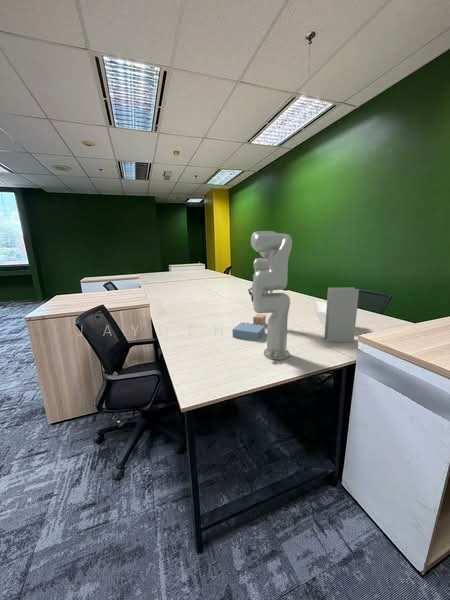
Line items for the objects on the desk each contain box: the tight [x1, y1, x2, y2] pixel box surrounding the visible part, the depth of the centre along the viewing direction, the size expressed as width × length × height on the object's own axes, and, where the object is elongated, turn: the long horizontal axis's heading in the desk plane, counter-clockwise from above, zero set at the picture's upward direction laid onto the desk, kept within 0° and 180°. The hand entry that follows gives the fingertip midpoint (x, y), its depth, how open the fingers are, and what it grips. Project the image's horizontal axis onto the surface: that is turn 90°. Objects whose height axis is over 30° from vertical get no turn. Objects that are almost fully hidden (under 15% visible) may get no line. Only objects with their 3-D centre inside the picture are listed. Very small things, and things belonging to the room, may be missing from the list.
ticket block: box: [232, 322, 266, 342], centre depth 148 cm, size 15×16×5 cm
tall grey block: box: [323, 287, 360, 343], centre depth 135 cm, size 14×6×30 cm, turn 84°
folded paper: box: [315, 300, 327, 325], centre depth 160 cm, size 17×24×17 cm
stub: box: [252, 313, 267, 325], centre depth 166 cm, size 9×6×6 cm, turn 154°
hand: (260, 302), depth 163 cm, fingers open, 9 cm apart
